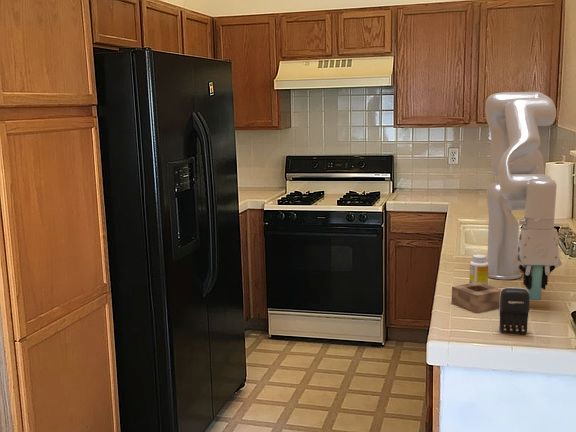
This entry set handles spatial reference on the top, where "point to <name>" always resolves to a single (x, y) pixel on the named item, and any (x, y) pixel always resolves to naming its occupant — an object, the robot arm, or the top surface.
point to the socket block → (476, 297)
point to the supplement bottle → (479, 269)
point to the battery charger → (514, 310)
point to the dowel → (536, 282)
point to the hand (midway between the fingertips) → (535, 287)
